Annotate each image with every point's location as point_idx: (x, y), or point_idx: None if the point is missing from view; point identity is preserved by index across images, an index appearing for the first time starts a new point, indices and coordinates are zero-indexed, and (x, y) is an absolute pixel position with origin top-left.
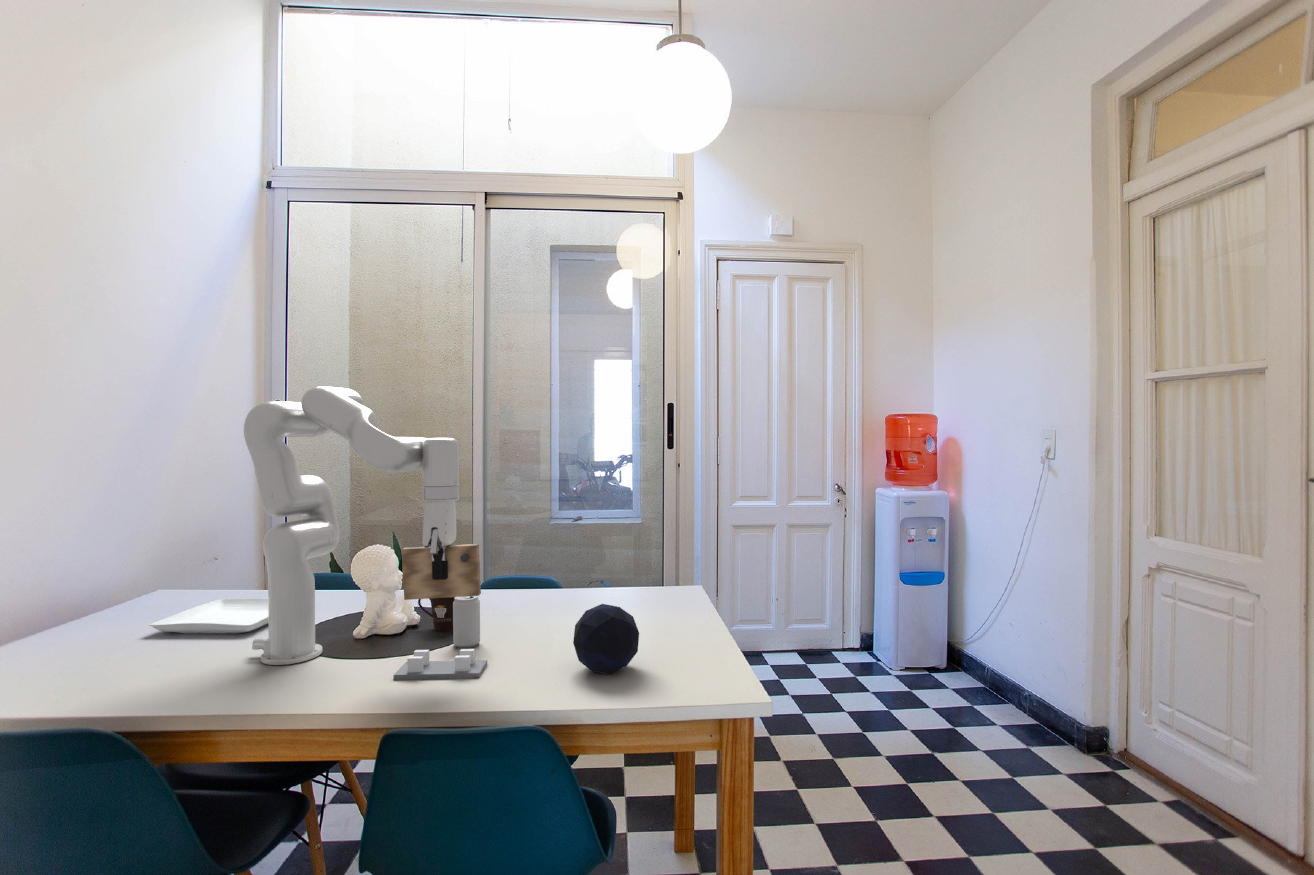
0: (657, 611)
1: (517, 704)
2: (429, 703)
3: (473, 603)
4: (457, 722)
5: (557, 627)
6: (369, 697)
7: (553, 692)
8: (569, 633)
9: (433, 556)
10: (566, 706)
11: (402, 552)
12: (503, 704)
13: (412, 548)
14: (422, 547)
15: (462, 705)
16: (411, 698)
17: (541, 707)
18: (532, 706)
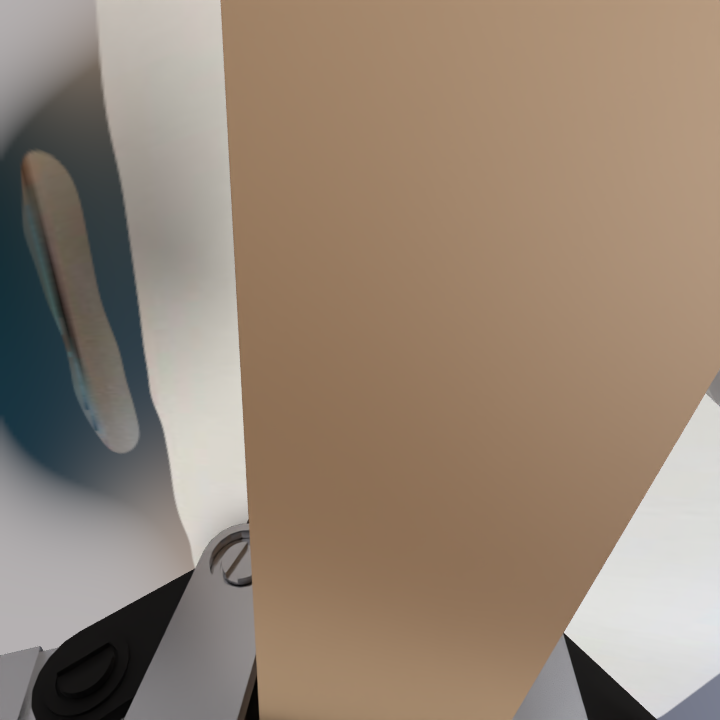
0: (704, 678)
1: (183, 418)
2: (172, 239)
3: (716, 397)
4: (85, 317)
5: (705, 515)
6: (201, 21)
7: (242, 474)
8: (628, 532)
9: (109, 620)
10: (181, 486)
11: None
12: (181, 395)
13: (300, 403)
14: (393, 644)
15: (168, 318)
16: (200, 180)
17: (173, 453)
18: (176, 441)
